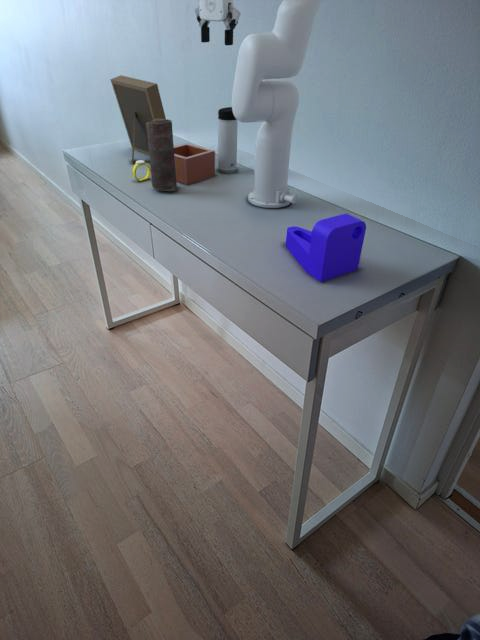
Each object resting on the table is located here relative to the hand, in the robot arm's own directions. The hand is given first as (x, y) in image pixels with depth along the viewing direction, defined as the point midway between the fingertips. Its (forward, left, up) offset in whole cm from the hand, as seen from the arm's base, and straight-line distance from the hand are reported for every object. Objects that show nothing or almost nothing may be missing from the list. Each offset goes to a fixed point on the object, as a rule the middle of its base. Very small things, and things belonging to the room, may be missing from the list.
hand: (216, 43), depth 139 cm
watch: (+5, +30, -37) cm, 47 cm away
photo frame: (+25, +14, -37) cm, 46 cm away
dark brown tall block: (-6, +31, -37) cm, 48 cm away
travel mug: (-8, +3, -37) cm, 38 cm away
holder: (-2, +17, -36) cm, 40 cm away
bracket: (-64, +38, -37) cm, 83 cm away
